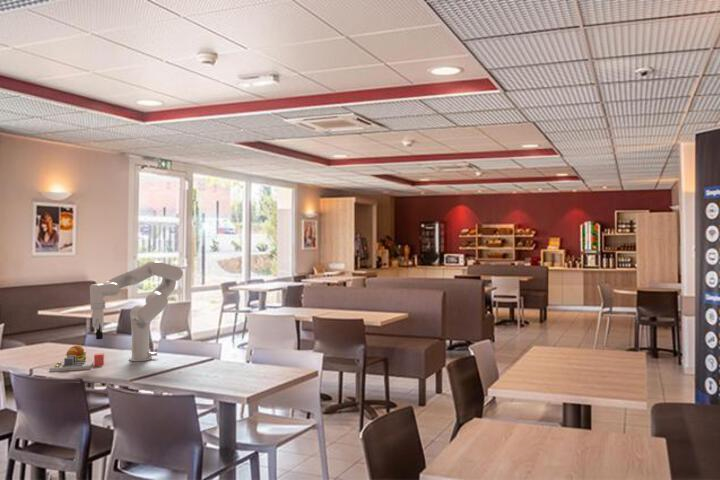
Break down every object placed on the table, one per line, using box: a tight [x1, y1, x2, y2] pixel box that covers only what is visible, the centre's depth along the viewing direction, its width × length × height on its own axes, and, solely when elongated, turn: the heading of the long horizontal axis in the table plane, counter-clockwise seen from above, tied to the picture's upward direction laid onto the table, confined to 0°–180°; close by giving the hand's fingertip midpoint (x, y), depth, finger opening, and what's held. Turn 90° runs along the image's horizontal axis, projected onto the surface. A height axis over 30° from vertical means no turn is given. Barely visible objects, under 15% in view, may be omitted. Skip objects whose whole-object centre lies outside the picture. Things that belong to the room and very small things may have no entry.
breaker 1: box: [63, 357, 74, 365], centre depth 329 cm, size 4×3×4 cm
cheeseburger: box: [65, 345, 87, 361], centre depth 350 cm, size 10×11×10 cm
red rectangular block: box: [93, 352, 105, 367], centre depth 340 cm, size 4×4×6 cm
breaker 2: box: [66, 355, 76, 363], centre depth 334 cm, size 4×3×4 cm
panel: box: [49, 359, 94, 373], centre depth 332 cm, size 20×12×3 cm, turn 106°
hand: (99, 338), depth 340 cm, fingers closed
